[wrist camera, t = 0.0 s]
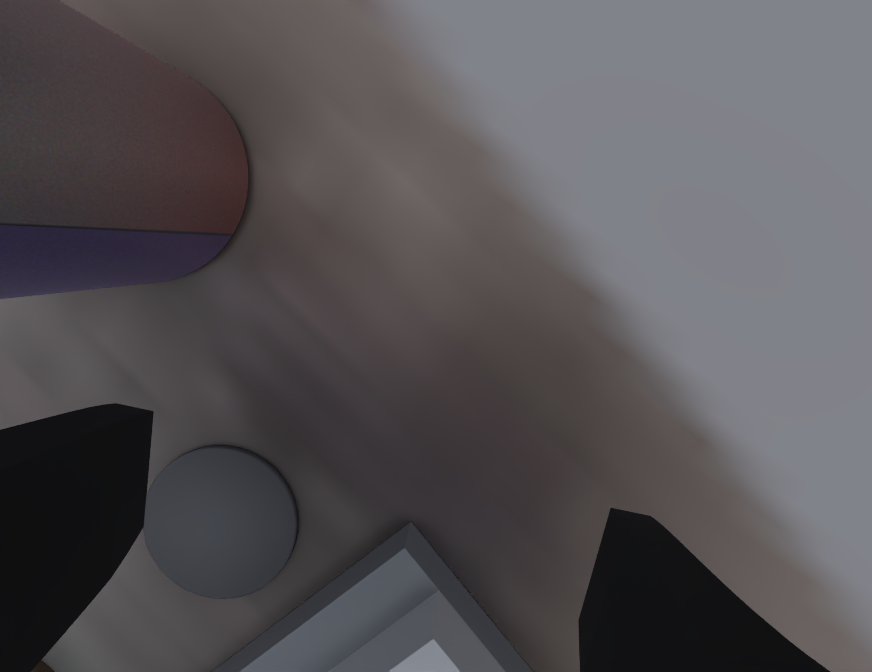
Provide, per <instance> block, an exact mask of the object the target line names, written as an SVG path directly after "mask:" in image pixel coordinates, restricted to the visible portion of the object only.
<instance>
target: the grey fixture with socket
mask: <svg viewBox="0 0 872 672" xmlns="http://www.w3.org/2000/svg"><path fill="white" fill-rule="evenodd" d="M212 672H533V671H532V670H531V669H530V668H529V666H528V665H527V664H526V663H525V661H524V660H523V659H522V658H521V656H520V655H519V654H518V653H517V651H516V650H515V649H514V648H513V647H512V645H511V644H510V643H509V642H508V640H507V639H506V638H505V637H504V635H503V634H502V633H501V632H500V631H499V629H498V628H497V627H496V626H495V624H494V623H493V622H492V621H491V619H490V618H489V617H488V616H487V615H486V613H485V612H484V611H483V610H482V608H481V607H480V606H479V605H478V603H477V602H476V601H475V600H474V599H473V597H472V596H471V595H470V594H469V592H468V591H467V590H466V589H465V587H464V586H463V585H462V584H461V583H460V581H459V580H458V579H457V578H456V576H455V575H454V574H453V573H452V571H451V570H450V569H449V568H448V567H447V565H446V564H445V563H444V562H443V560H442V559H441V558H440V557H439V555H438V554H437V553H436V552H435V550H434V549H433V548H432V547H431V546H430V544H429V543H428V542H427V541H426V539H425V538H424V537H423V536H422V534H421V533H420V532H419V531H418V530H417V528H416V527H415V526H414V525H413V523H412V522H410V523H409V524H407V525H406V526H405V527H403V528H402V529H401V530H399V531H398V532H397V533H395V534H394V535H393V536H391V537H390V538H389V539H387V540H386V541H385V542H383V543H382V544H381V545H379V546H378V547H377V548H375V549H374V550H373V551H371V552H370V553H369V554H367V555H366V556H365V557H363V558H362V559H361V560H359V561H358V562H357V563H355V564H354V565H353V566H351V567H350V568H349V569H347V570H346V571H345V572H343V573H342V574H341V575H340V576H338V577H337V578H336V579H334V580H333V581H332V582H330V583H329V584H328V585H326V586H325V587H324V588H322V589H321V590H320V591H318V592H317V593H316V594H314V595H313V596H312V597H310V598H309V599H308V600H306V601H305V602H304V603H302V604H301V605H300V606H298V607H297V608H296V609H294V610H293V611H292V612H290V613H289V614H288V615H286V616H285V617H284V618H282V619H281V620H280V621H278V622H277V623H276V624H274V625H273V626H272V627H270V628H269V629H268V630H266V631H265V632H264V633H262V634H261V635H260V636H258V637H257V638H256V639H254V640H253V641H252V642H251V643H249V644H248V645H247V646H245V647H244V648H243V649H241V650H240V651H239V652H237V653H236V654H235V655H233V656H232V657H231V658H229V659H228V660H227V661H225V662H224V663H223V664H221V665H220V666H219V667H217V668H216V669H215V670H213V671H212Z"/></svg>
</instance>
